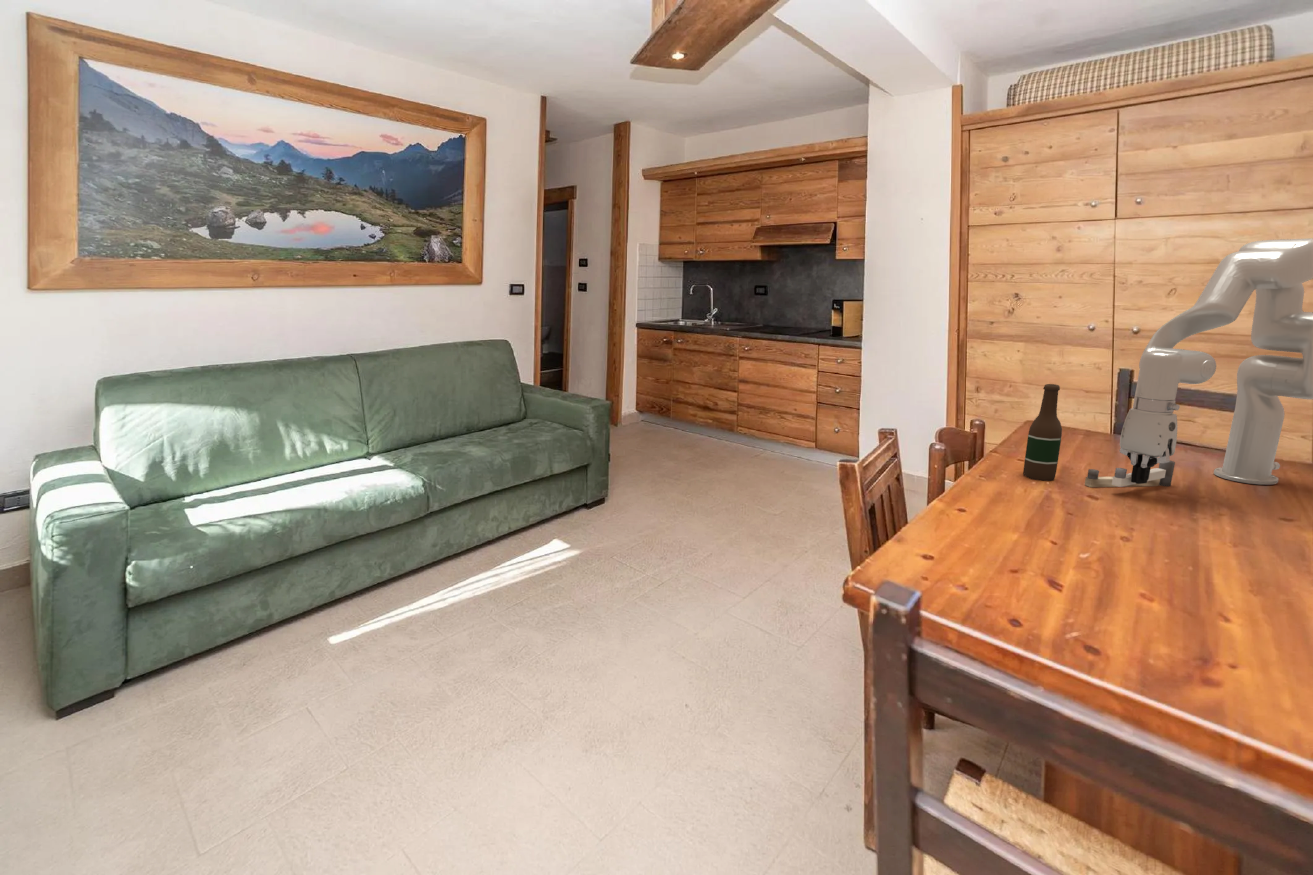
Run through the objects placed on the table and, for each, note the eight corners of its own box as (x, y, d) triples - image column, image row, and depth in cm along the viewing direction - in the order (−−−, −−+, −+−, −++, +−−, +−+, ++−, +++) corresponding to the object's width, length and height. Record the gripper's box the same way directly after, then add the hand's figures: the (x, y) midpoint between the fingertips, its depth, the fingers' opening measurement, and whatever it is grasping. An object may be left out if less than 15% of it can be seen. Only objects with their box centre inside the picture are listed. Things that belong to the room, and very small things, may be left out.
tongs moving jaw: (1155, 475, 167) (1158, 460, 166) (1165, 477, 165) (1168, 462, 164) (1110, 484, 159) (1113, 468, 158) (1120, 487, 157) (1123, 470, 156)
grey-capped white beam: (1163, 482, 169) (1168, 459, 167) (1173, 486, 166) (1178, 462, 165) (1082, 484, 167) (1086, 460, 166) (1091, 487, 164) (1095, 464, 163)
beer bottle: (1061, 482, 169) (1075, 387, 163) (1027, 480, 170) (1040, 386, 165) (1049, 473, 176) (1063, 383, 171) (1017, 471, 178) (1030, 381, 172)
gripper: (1199, 410, 148) (1183, 490, 152) (1131, 399, 161) (1118, 472, 166) (1176, 412, 145) (1161, 493, 149) (1110, 400, 159) (1097, 475, 163)
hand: (1138, 482), depth 158 cm, fingers closed
